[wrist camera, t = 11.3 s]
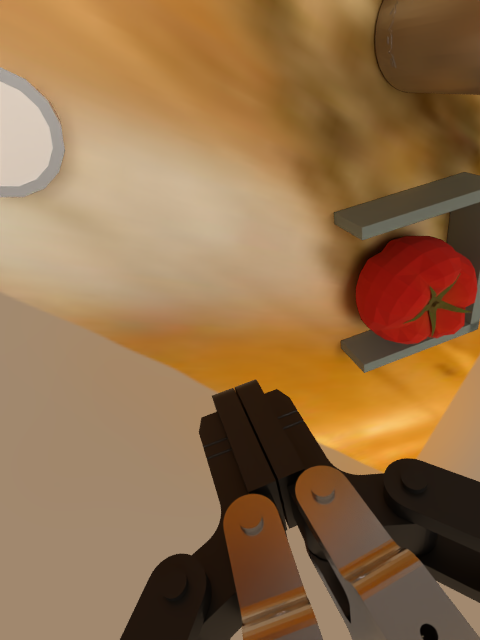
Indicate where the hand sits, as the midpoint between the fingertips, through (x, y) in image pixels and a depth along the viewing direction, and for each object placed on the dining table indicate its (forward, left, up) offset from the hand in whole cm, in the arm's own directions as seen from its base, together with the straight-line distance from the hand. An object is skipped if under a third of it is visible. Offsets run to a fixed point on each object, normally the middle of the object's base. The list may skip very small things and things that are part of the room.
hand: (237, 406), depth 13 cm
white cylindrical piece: (+7, -8, -25) cm, 27 cm away
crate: (-25, +14, -25) cm, 38 cm away
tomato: (-23, +15, -25) cm, 37 cm away
